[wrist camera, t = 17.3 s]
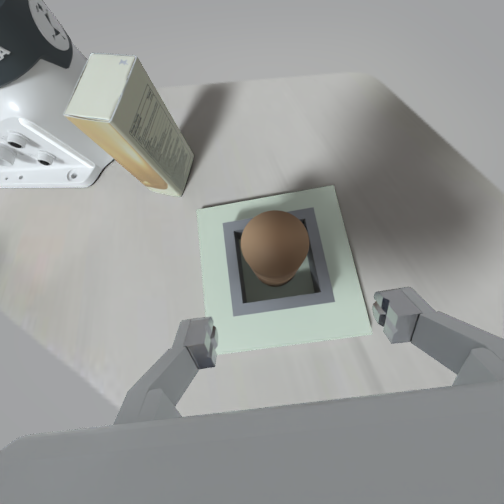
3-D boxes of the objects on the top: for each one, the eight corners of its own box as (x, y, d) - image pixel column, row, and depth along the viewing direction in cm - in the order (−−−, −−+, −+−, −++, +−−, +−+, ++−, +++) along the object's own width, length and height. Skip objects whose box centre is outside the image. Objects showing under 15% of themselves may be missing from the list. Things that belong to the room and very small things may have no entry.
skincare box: (165, 151, 29) (90, 47, 17) (195, 155, 28) (139, 50, 17) (150, 194, 28) (57, 113, 16) (181, 200, 27) (108, 120, 15)
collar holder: (211, 353, 23) (198, 364, 19) (199, 213, 26) (186, 197, 23) (368, 332, 21) (388, 339, 18) (331, 189, 25) (341, 168, 21)
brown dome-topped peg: (257, 289, 23) (245, 281, 14) (251, 248, 24) (236, 216, 15) (300, 283, 22) (315, 270, 14) (292, 241, 23) (301, 205, 15)
